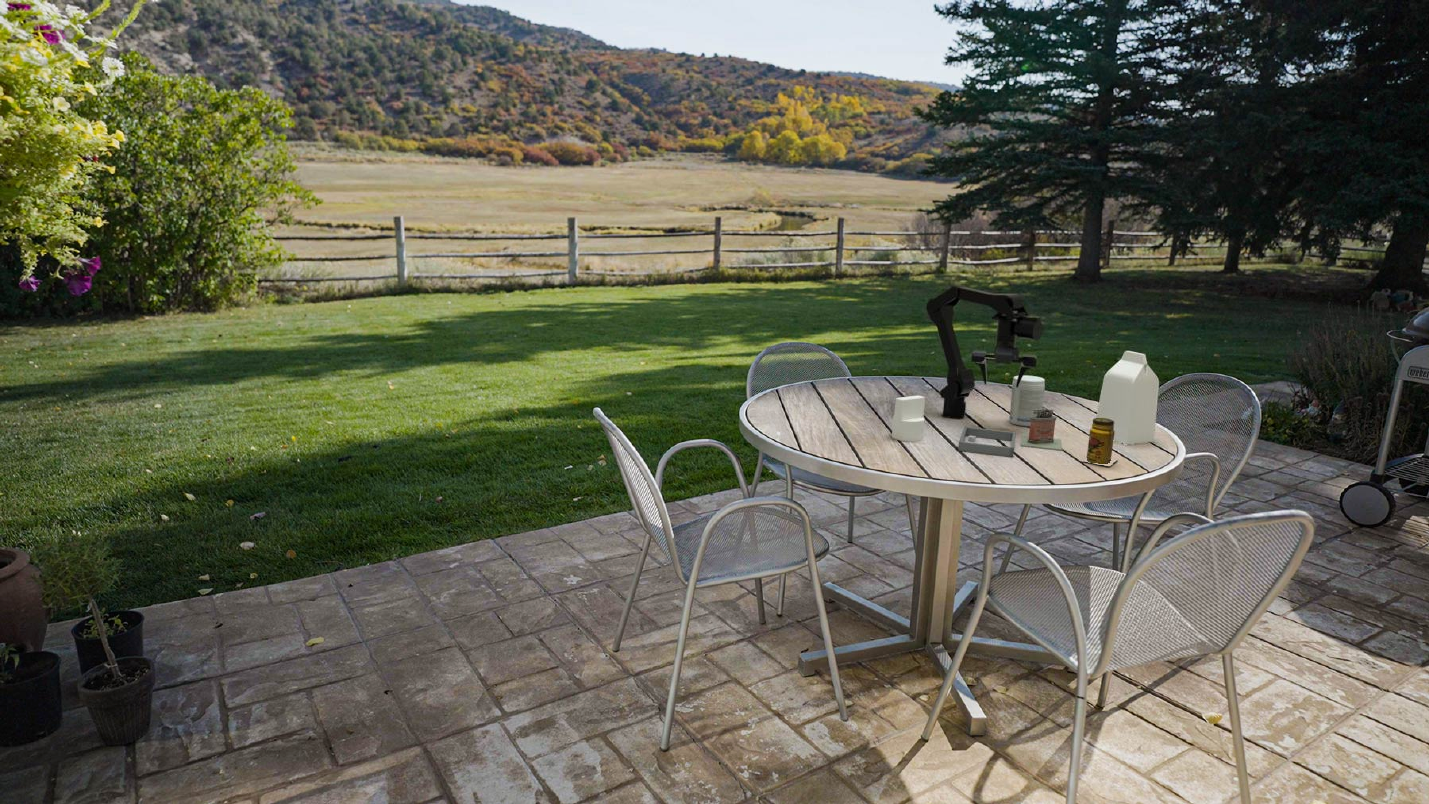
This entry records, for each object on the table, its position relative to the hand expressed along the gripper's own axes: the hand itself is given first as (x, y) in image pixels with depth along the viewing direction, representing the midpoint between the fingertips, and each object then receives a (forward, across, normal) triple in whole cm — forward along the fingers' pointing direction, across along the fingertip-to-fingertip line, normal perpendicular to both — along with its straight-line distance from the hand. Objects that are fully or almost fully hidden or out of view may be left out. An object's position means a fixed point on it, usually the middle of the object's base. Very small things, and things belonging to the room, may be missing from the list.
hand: (1001, 385), depth 259 cm
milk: (+13, +36, +3) cm, 38 cm away
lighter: (+13, +13, -14) cm, 23 cm away
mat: (+13, +13, -14) cm, 23 cm away
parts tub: (+13, -2, -23) cm, 26 cm away
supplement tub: (+13, +8, +8) cm, 17 cm away
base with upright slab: (+13, -24, -24) cm, 36 cm away
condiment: (+13, +28, -26) cm, 40 cm away
